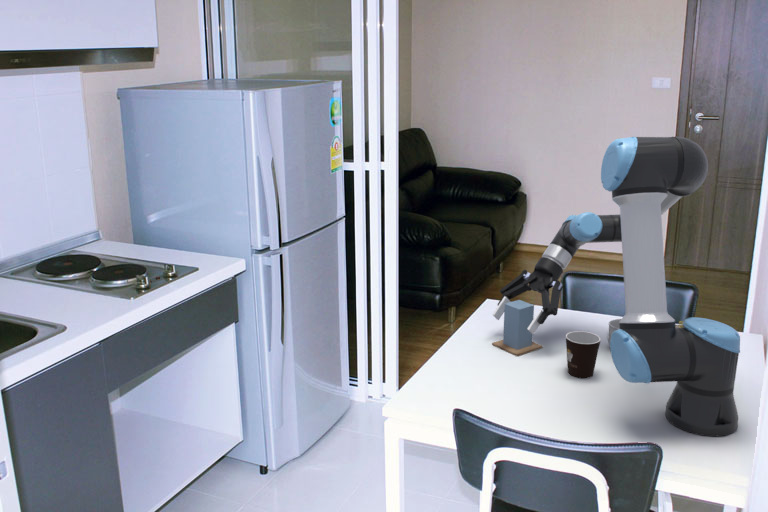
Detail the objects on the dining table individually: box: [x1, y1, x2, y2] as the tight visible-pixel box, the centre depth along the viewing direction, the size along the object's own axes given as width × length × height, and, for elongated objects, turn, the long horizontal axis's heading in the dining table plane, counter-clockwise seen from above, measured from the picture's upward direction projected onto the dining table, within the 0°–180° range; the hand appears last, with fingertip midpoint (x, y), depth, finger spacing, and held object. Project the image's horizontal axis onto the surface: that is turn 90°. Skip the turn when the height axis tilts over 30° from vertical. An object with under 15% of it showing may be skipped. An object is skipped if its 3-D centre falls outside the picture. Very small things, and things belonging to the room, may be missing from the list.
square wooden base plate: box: [491, 339, 544, 357], centre depth 203 cm, size 10×10×8 cm
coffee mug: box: [565, 330, 601, 380], centre depth 187 cm, size 12×9×10 cm
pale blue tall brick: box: [502, 299, 535, 350], centre depth 202 cm, size 6×6×12 cm
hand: (512, 324), depth 201 cm, fingers open, 13 cm apart
